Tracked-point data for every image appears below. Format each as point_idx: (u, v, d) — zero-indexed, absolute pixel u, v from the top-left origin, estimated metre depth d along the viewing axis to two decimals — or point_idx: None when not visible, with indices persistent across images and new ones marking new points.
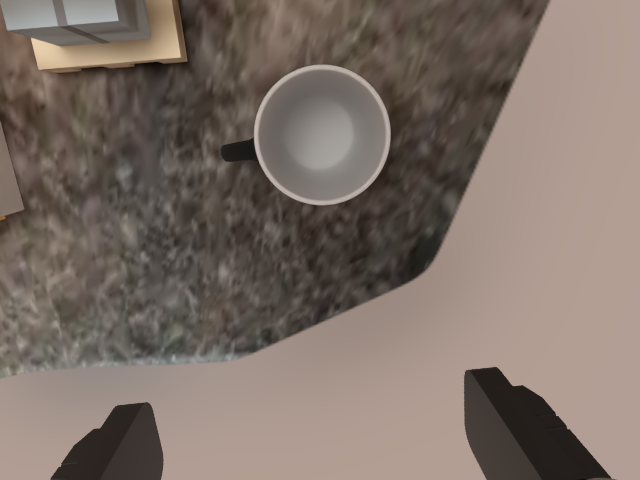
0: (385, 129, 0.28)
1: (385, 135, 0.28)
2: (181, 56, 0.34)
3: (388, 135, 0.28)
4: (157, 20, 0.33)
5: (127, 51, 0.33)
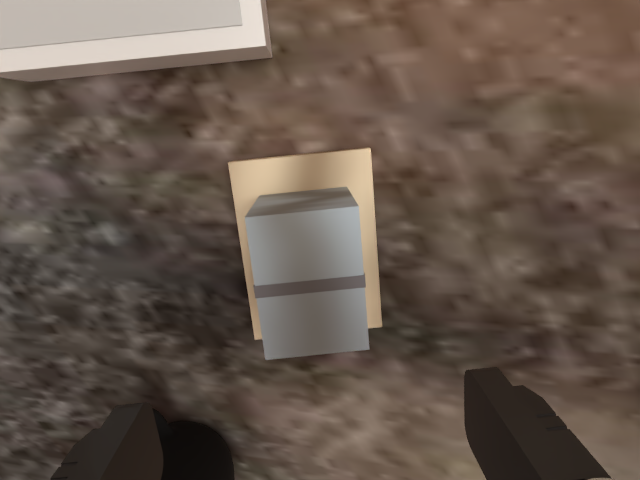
0: None
1: None
2: None
3: None
4: None
5: None
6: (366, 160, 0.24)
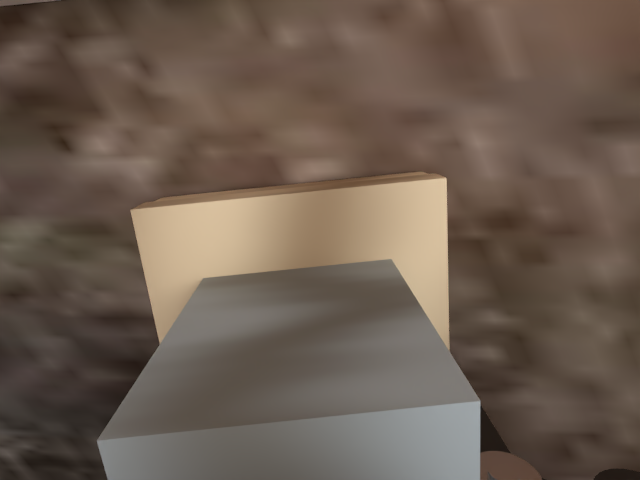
0: None
1: None
2: None
3: None
4: None
5: None
6: (436, 204, 0.11)
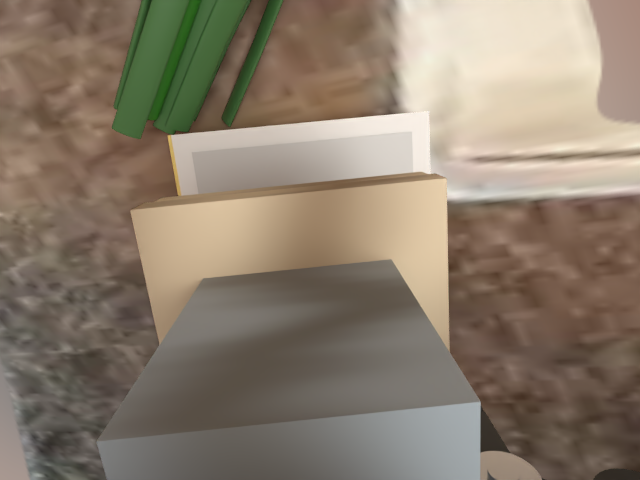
0: None
1: None
2: None
3: None
4: None
5: None
6: (436, 204, 0.11)
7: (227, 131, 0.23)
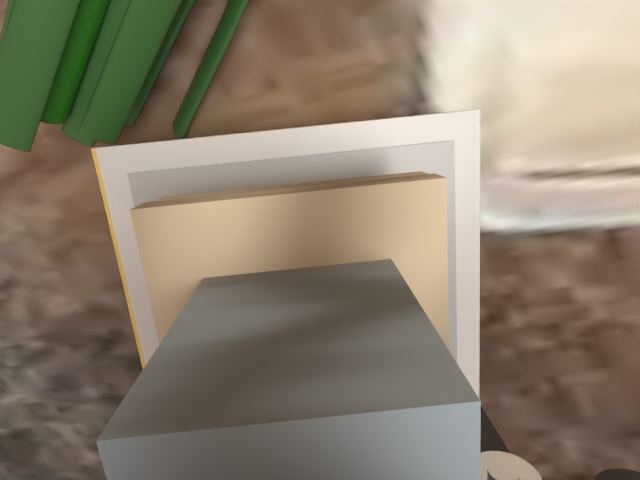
0: None
1: None
2: None
3: None
4: None
5: None
6: (436, 203, 0.11)
7: (180, 142, 0.16)
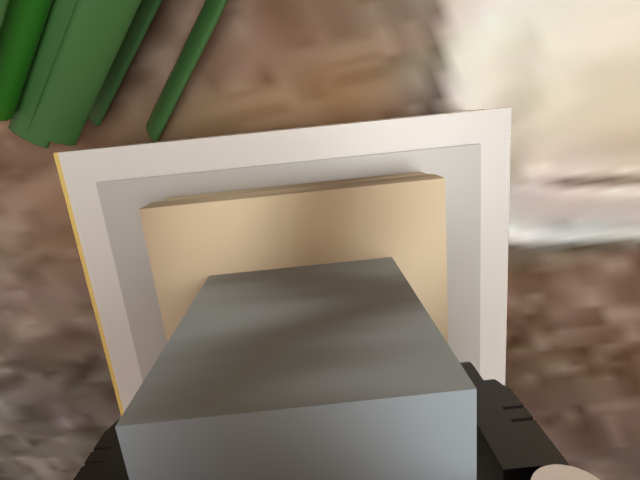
0: None
1: None
2: None
3: None
4: None
5: None
6: (435, 203, 0.11)
7: (157, 145, 0.13)
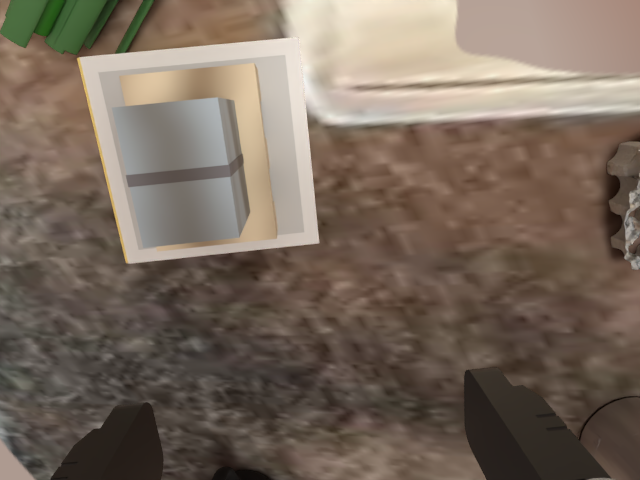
0: None
1: None
2: None
3: None
4: None
5: None
6: (251, 74, 0.26)
7: (128, 54, 0.27)
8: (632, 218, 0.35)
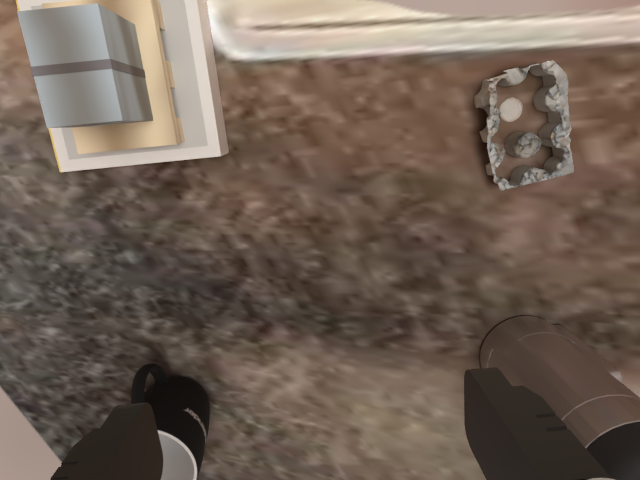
0: None
1: None
2: (81, 153, 0.35)
3: None
4: (107, 134, 0.34)
5: None
6: (147, 2, 0.32)
7: None
8: (495, 144, 0.40)
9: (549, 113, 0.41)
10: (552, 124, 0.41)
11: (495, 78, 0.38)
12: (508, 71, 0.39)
